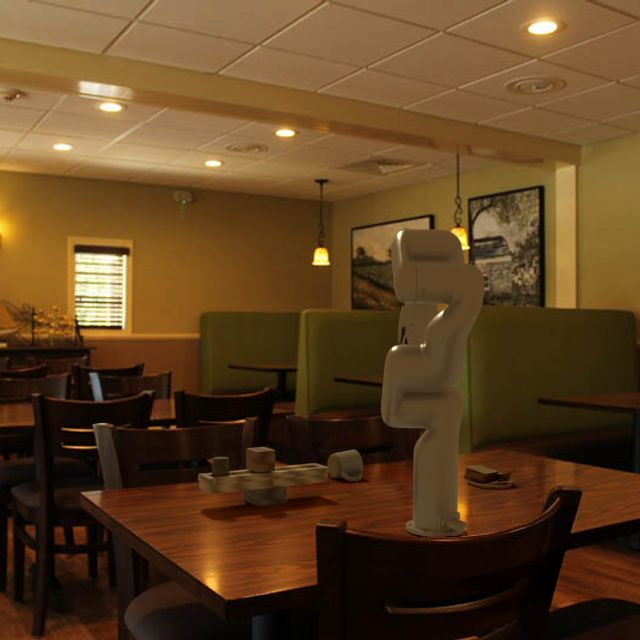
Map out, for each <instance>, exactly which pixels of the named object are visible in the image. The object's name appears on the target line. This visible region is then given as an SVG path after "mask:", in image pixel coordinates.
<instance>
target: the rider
mask: <svg viewBox="0 0 640 640" xmlns="http://www.w3.org/2000/svg"><path fill="white" fill-rule="evenodd" d="M275 467H276V449H272V448H269V447H265V446H260V447H259V446H258V447H247V448H245V470H248V469H249V470H251V473H262V472H267V471H275Z"/></svg>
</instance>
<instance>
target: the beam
mask: <svg viewBox="0 0 640 640" xmlns="http://www.w3.org/2000/svg"><path fill="white" fill-rule="evenodd" d="M211 461H212V462H211V463H212V464H211V468H212V469H211V472H208V473H198V475H197V476H198V477H197V481H198V482H199V483H198V488H199V490H201V491H203V492H206V493H207V494H209V495H216V494H226V493H227V494H229V493H236V492H243V493H242V494H243V496H242V497H243V498H242V499H243V501H245V502H248V503H249V504H252V505H254V506H256V507H263V506H271V505H280V504H287V503H288V498H287V497H288V487H291V486H302V485H309V484H312V485H313V484H318V483H328V481H329V477H328V476H329V475H330V473H329V467H328V466H326V465H322V464H320V463H316V462H313V463H312V462H311V463H304V464H293V465H281V466H275V471H267V472H262V473H251V470H249V469H238V470H230V458H229V457H228V456H215V457H212V460H211Z"/></svg>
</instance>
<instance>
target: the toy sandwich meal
mask: <svg viewBox="0 0 640 640" xmlns="http://www.w3.org/2000/svg"><path fill="white" fill-rule="evenodd" d="M464 471H465V472H464V474H463V479H464V480H467V481H468V482H469V483H470V484H471V485H472V486H474V487H476V488H482V489H492V490H493V489H495V490H497V489H498V490H499V489H500V490H501V489H509V488H512V486H514V485H515V481H514V480H513V479H511V477H512V476H513V472H514V471H513V470H510V471H507V472H504V473H503V472H500V471H499V470H495V469H492V468H490V467H486V466H483V465H479V464H475V465H474V464H472V465H468V466H467V467H466V469H465V470H464Z"/></svg>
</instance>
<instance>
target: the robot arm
mask: <svg viewBox="0 0 640 640" xmlns="http://www.w3.org/2000/svg"><path fill="white" fill-rule="evenodd" d="M390 256H391V268H392V277H393V288H394V289H393V290H394V294H395V296H396V299H397V300H398V301H399V302H401V303H402V304H404V305H402V306H401V310H400V313H399V320H398V328H397V329H398V330H397V331H398V332H397V341H398V344H397V345H394V346H393V347H391V348H390V349H389V350H388V352H387V354H386V357H385V361H384V368H383V378H382V379H383V381H382V391H381V405H380V413H381V418H382V420H383V422H384V424H385V425H387V427H391V428H398V429H426V430H425V431H424V432H423V433H422V434H421V436H420V437H419V438H418V440H416V443H415V445H414V448H413V474H412V475H413V477H412V478H413V481H412V484H413V486H412V488H413V489H412V492H413V493H412V519H410V520H409V521H407V522H406V523H405V530H406V531H407V532H408V533H411V534H412V535H417V536H421V537H426V536H427V538H447V537H446V536H454V537H458V536H461V535H463V534H464V533H465V528H466V527H467V526H468V524H467V522H466V521H464V520H461V512H460V511H458V504H459V503H458V502H459V501H458V498H459V497H458V495H459V440H460V430H461V429H460V428H461V422H462V416H463V412H464V411H463V410H464V409H463V408H464V398H463V394H462V392H461V391H460V390H459V389H458V388H457V387H456V386H457V385H458V384H459V382H460V380H461V376H462V372H463V368H464V367H463V366H464V362H465V354H466V350H467V349H466V348H467V344H468V343H467V341H468V337H469V335H470V333H471V330H472V328H473V326H474V325H475V322H476V320H477V318H478V316H479V314H480V312H481V309H482V305H483V302H484V295H485V279H484V278H485V276H484V273H483V272H482V271H481V269H480V268H479V267H477V266H475V265H474V264H471V263H465V254H464V250H463V244H462V243H461V240H460V238H459V237H458V236H457V235H456V234H455V233H453V232H452V231H449V230H445V229H418V228H417V229H414V228H413V229H412V228H411V229H410V228H409V229H402V230H400V231H398V233H397V234H396V235H395V236H394V238H393V241H392V245H391V252H390ZM436 305H447V306H446V307H445V308H444V309H443V310H440V312H438V308H437V306H436Z"/></svg>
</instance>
